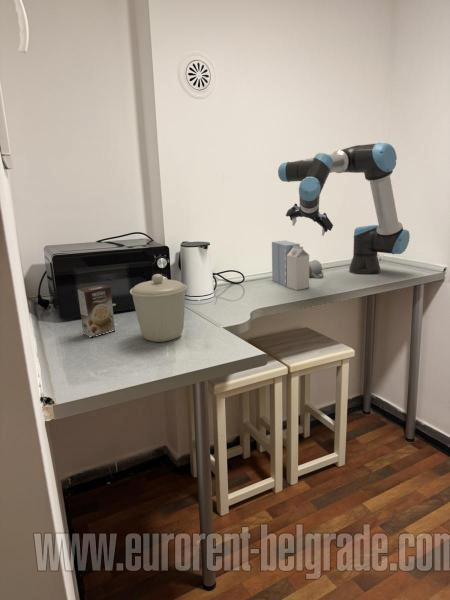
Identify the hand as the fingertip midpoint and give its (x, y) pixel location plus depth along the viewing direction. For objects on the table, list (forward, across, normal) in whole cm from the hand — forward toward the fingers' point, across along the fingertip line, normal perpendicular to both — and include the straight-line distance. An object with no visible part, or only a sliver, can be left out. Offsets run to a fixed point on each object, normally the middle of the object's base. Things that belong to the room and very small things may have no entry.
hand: (309, 228), depth 189 cm
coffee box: (-42, -45, -79) cm, 100 cm away
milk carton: (+12, +4, -24) cm, 27 cm away
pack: (+20, -3, -21) cm, 30 cm away
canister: (-43, -23, -71) cm, 86 cm away
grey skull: (+32, +7, -10) cm, 34 cm away
